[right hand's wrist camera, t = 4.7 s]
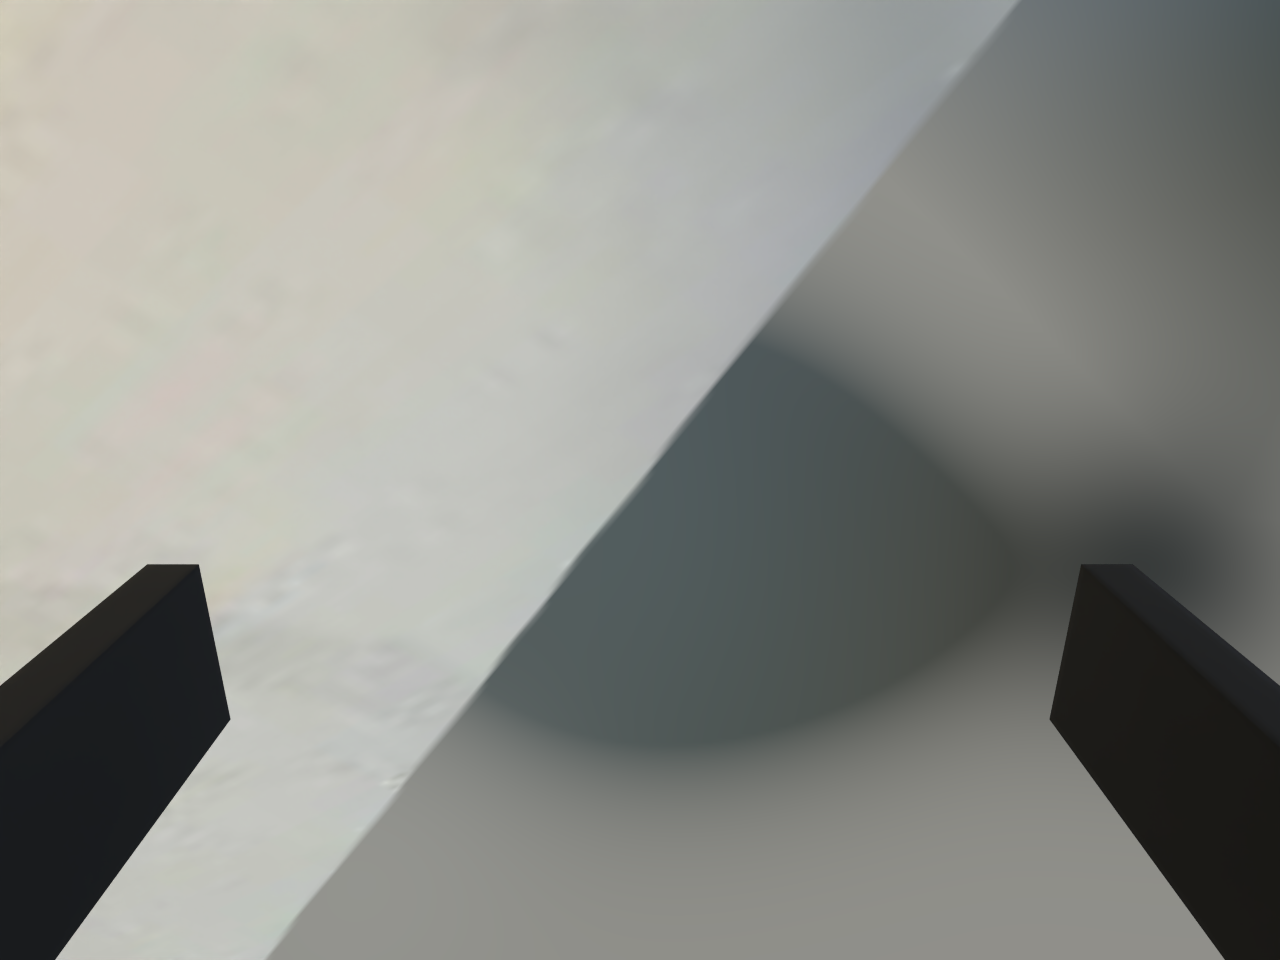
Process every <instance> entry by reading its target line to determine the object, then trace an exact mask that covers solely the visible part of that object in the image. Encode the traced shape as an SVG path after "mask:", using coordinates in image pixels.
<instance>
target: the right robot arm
mask: <svg viewBox="0 0 1280 960" xmlns="http://www.w3.org/2000/svg"><path fill="white" fill-rule="evenodd" d="M229 721H230V715H229V710H228V705H227V700H226V695H225V690H224V686H223V681H222V676H221V671H220V666H219V661H218V656H217V651H216V646H215V641H214V637H213V632H212V627H211V622H210V617H209V612H208V607H207V602H206V597H205V593H204V588H203V583H202V578H201V573H200V568H199V564H147V565H146V566H145V567H144V568H142V569H141V570H140V571H139V572H138V573H136V574H135V575H134V576H133V577H131V578H130V579H129V580H128V581H127V582H125V583H124V584H123V585H122V586H121V587H119V588H118V589H117V590H116V591H115V592H113V593H112V594H111V595H110V596H108V597H107V598H106V599H105V600H104V601H102V602H101V603H100V604H99V605H98V606H96V607H95V608H94V609H93V610H92V611H90V612H89V613H88V614H87V615H85V616H84V617H83V618H82V619H81V620H79V621H78V622H77V623H76V624H75V625H73V626H72V627H71V628H70V629H68V630H67V631H66V632H65V633H64V634H62V635H61V636H60V637H59V638H58V639H56V640H55V641H54V642H53V643H52V644H50V645H49V646H48V647H47V648H45V649H44V650H43V651H42V652H41V653H39V654H38V655H37V656H36V657H35V658H33V659H32V660H31V661H30V662H29V663H27V664H26V665H25V666H24V667H22V668H21V669H20V670H19V671H18V672H16V673H15V674H14V675H13V676H12V677H10V678H9V679H8V680H7V681H6V682H4V683H3V684H2V685H1V686H0V960H55V959H56V958H57V956H58V955H59V954H60V952H61V951H62V950H63V948H64V947H65V945H66V944H67V943H68V941H69V940H70V939H71V937H72V936H73V934H74V933H75V932H76V930H77V929H78V928H79V926H80V925H81V923H82V922H83V921H84V919H85V918H86V917H87V915H88V914H89V913H90V911H91V910H92V908H93V907H94V906H95V904H96V903H97V902H98V900H99V899H100V897H101V896H102V895H103V893H104V892H105V891H106V889H107V888H108V886H109V885H110V884H111V882H112V881H113V880H114V878H115V877H116V876H117V874H118V873H119V871H120V870H121V869H122V867H123V866H124V865H125V863H126V862H127V860H128V859H129V858H130V856H131V855H132V854H133V852H134V851H135V849H136V848H137V847H138V845H139V844H140V843H141V841H142V840H143V838H144V837H145V836H146V834H147V833H148V832H149V830H150V829H151V828H152V826H153V825H154V823H155V822H156V821H157V819H158V818H159V817H160V815H161V814H162V812H163V811H164V810H165V808H166V807H167V806H168V804H169V803H170V801H171V800H172V799H173V797H174V796H175V795H176V793H177V792H178V790H179V789H180V788H181V786H182V785H183V784H184V782H185V781H186V780H187V778H188V777H189V775H190V774H191V773H192V771H193V770H194V769H195V767H196V766H197V764H198V763H199V762H200V760H201V759H202V758H203V756H204V755H205V753H206V752H207V751H208V749H209V748H210V747H211V745H212V744H213V743H214V741H215V740H216V738H217V737H218V736H219V734H220V733H221V732H222V730H223V729H224V727H225V726H226V725H227V723H228V722H229ZM1050 721H1051V722H1052V723H1053V725H1054V726H1055V727H1056V729H1057V730H1058V732H1059V733H1060V734H1061V736H1062V737H1063V738H1064V740H1065V741H1066V742H1067V744H1068V745H1069V747H1070V748H1071V749H1072V751H1073V752H1074V753H1075V755H1076V756H1077V758H1078V759H1079V760H1080V762H1081V763H1082V764H1083V766H1084V767H1085V768H1086V770H1087V771H1088V773H1089V774H1090V775H1091V777H1092V778H1093V779H1094V781H1095V782H1096V784H1097V785H1098V786H1099V788H1100V789H1101V790H1102V792H1103V793H1104V795H1105V796H1106V797H1107V799H1108V800H1109V801H1110V803H1111V804H1112V806H1113V807H1114V808H1115V810H1116V811H1117V812H1118V814H1119V815H1120V817H1121V818H1122V819H1123V821H1124V822H1125V823H1126V825H1127V826H1128V828H1129V829H1130V830H1131V832H1132V833H1133V834H1134V836H1135V837H1136V838H1137V840H1138V841H1139V843H1140V844H1141V845H1142V847H1143V848H1144V849H1145V851H1146V852H1147V854H1148V855H1149V856H1150V858H1151V859H1152V860H1153V862H1154V863H1155V865H1156V866H1157V867H1158V869H1159V870H1160V871H1161V873H1162V874H1163V876H1164V877H1165V878H1166V880H1167V881H1168V882H1169V884H1170V885H1171V886H1172V888H1173V889H1174V891H1175V892H1176V893H1177V895H1178V896H1179V897H1180V899H1181V900H1182V902H1183V903H1184V904H1185V906H1186V907H1187V908H1188V910H1189V911H1190V912H1191V914H1192V915H1193V917H1194V918H1195V919H1196V921H1197V922H1198V923H1199V925H1200V926H1201V928H1202V929H1203V930H1204V932H1205V933H1206V934H1207V936H1208V937H1209V939H1210V940H1211V941H1212V943H1213V944H1214V945H1215V947H1216V948H1217V950H1218V951H1219V952H1220V954H1221V955H1222V956H1223V958H1224V959H1225V960H1280V686H1279V685H1278V684H1277V683H1276V682H1274V681H1273V680H1272V679H1271V678H1270V677H1268V676H1267V675H1266V674H1265V673H1264V672H1262V671H1261V670H1260V669H1259V668H1257V667H1256V666H1255V665H1254V664H1253V663H1251V662H1250V661H1249V660H1248V659H1247V658H1245V657H1244V656H1243V655H1242V654H1241V653H1239V652H1238V651H1237V650H1236V649H1234V648H1233V647H1232V646H1231V645H1230V644H1228V643H1227V642H1226V641H1225V640H1224V639H1222V638H1221V637H1220V636H1219V635H1218V634H1216V633H1215V632H1214V631H1213V630H1211V629H1210V628H1209V627H1208V626H1207V625H1205V624H1204V623H1203V622H1202V621H1201V620H1199V619H1198V618H1197V617H1196V616H1195V615H1193V614H1192V613H1191V612H1190V611H1188V610H1187V609H1186V608H1185V607H1184V606H1182V605H1181V604H1180V603H1179V602H1178V601H1176V600H1175V599H1174V598H1173V597H1171V596H1170V595H1169V594H1168V593H1167V592H1165V591H1164V590H1163V589H1162V588H1161V587H1159V586H1158V585H1157V584H1156V583H1155V582H1153V581H1152V580H1151V579H1150V578H1149V577H1147V576H1146V575H1145V574H1144V573H1142V572H1141V571H1140V570H1139V569H1138V568H1136V567H1135V566H1134V565H1132V564H1082V565H1081V568H1080V573H1079V578H1078V583H1077V588H1076V593H1075V597H1074V602H1073V607H1072V612H1071V617H1070V622H1069V627H1068V632H1067V637H1066V641H1065V646H1064V651H1063V656H1062V661H1061V666H1060V671H1059V676H1058V681H1057V686H1056V690H1055V696H1054V700H1053V705H1052V710H1051V715H1050Z"/></svg>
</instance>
